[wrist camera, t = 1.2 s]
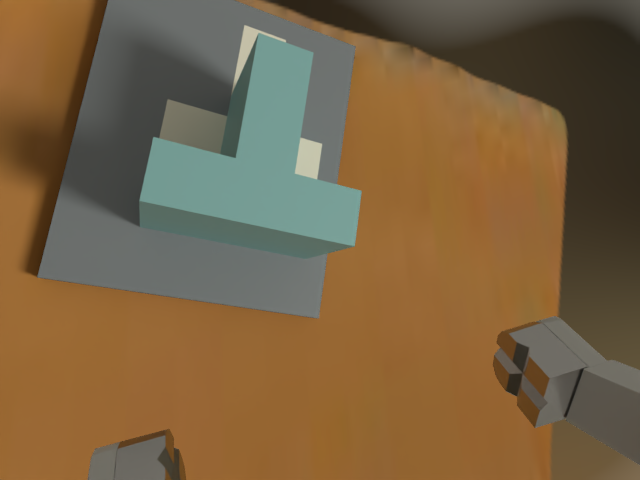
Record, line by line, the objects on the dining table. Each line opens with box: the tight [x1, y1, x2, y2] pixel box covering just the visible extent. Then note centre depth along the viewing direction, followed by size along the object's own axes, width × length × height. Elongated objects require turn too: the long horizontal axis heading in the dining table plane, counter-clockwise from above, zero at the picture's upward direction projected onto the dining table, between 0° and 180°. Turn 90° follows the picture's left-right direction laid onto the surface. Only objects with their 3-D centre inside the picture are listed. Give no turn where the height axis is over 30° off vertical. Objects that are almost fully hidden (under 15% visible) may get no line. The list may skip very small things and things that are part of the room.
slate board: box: [37, 0, 356, 318], centre depth 39 cm, size 22×27×1 cm
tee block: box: [139, 33, 361, 259], centre depth 34 cm, size 14×13×10 cm
